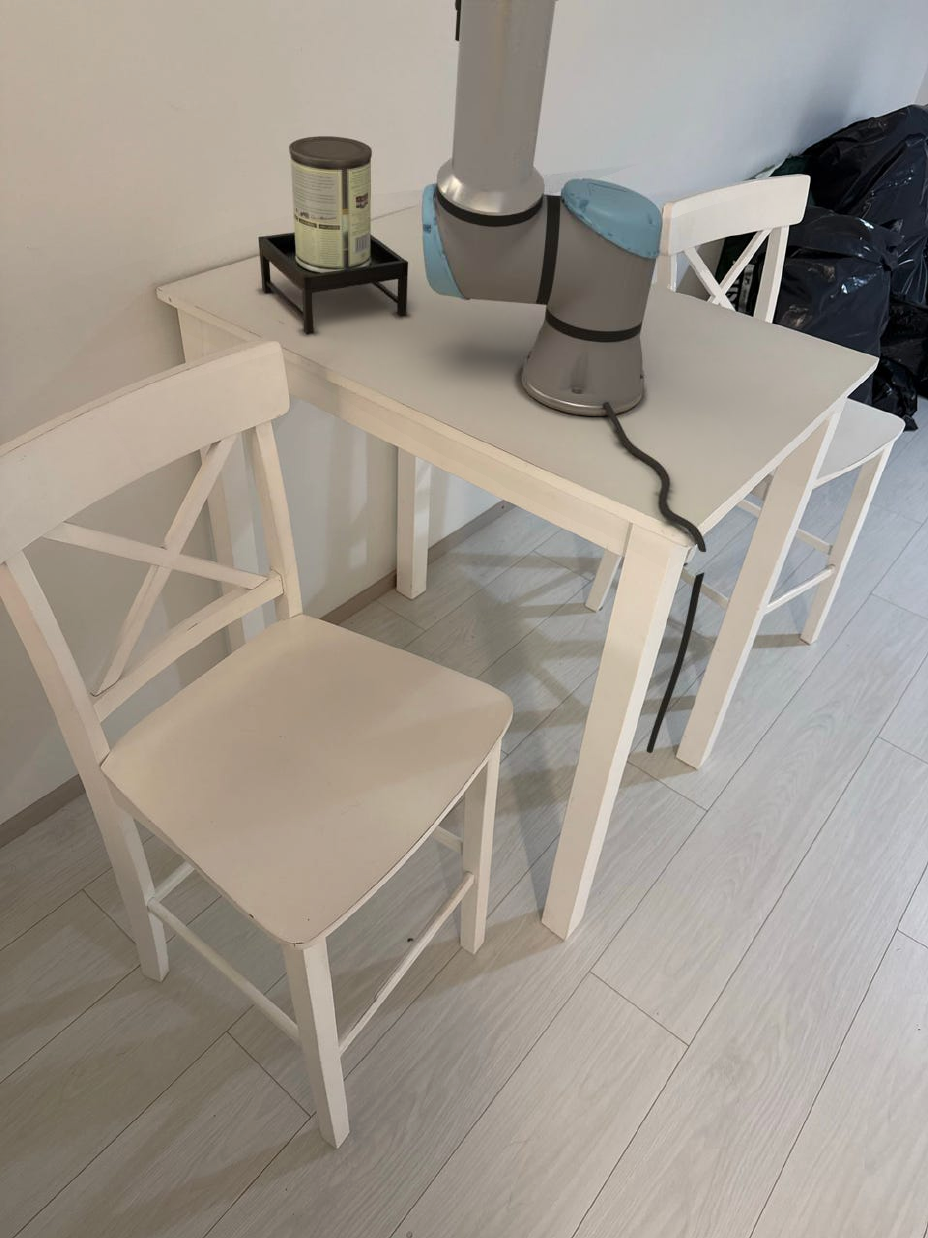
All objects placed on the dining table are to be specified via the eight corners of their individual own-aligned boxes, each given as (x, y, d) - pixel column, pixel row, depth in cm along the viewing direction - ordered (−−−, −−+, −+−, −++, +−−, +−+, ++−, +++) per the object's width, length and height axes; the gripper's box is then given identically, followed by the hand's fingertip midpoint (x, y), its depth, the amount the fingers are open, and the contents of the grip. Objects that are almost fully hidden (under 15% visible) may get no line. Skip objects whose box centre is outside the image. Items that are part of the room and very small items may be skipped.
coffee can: (304, 242, 127) (299, 131, 118) (376, 250, 127) (378, 140, 117) (286, 269, 119) (279, 154, 110) (363, 278, 119) (363, 163, 110)
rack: (406, 315, 126) (408, 261, 121) (306, 334, 119) (304, 277, 114) (357, 275, 135) (357, 223, 130) (262, 290, 128) (258, 236, 123)
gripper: (612, -142, 105) (582, 68, 119) (469, -162, 118) (457, 30, 132) (568, -145, 101) (542, 73, 115) (424, -165, 114) (417, 33, 128)
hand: (497, 50), depth 124 cm, fingers open, 13 cm apart
